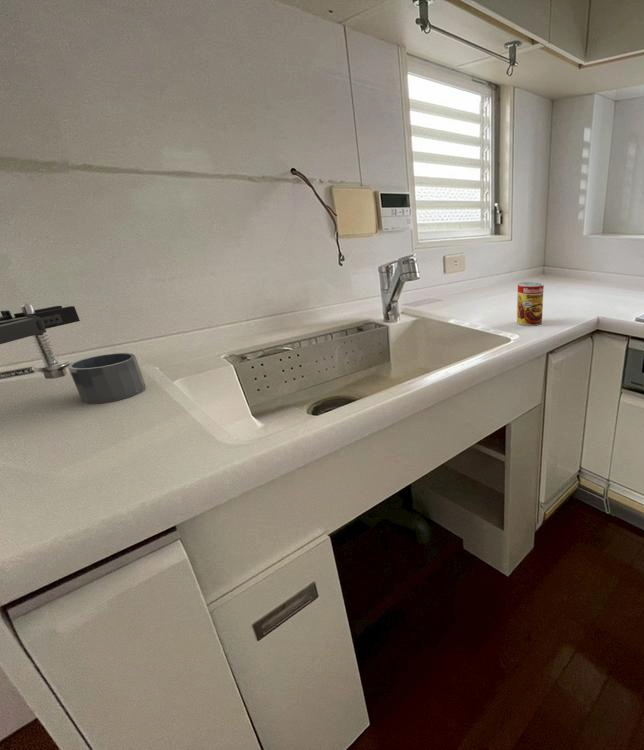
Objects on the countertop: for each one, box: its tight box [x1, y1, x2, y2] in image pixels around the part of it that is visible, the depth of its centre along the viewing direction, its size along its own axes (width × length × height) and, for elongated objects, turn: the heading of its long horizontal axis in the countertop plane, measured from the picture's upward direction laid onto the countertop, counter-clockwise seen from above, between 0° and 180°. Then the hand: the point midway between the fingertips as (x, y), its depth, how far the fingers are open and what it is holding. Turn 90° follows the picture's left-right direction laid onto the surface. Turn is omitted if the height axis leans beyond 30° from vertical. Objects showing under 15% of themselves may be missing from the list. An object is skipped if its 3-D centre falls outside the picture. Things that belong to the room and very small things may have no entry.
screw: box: [20, 302, 73, 380], centre depth 69 cm, size 13×5×5 cm
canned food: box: [516, 281, 545, 327], centre depth 124 cm, size 8×8×12 cm
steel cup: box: [67, 352, 147, 405], centre depth 73 cm, size 9×9×6 cm
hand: (68, 313), depth 72 cm, fingers closed on screw, 2 cm apart
